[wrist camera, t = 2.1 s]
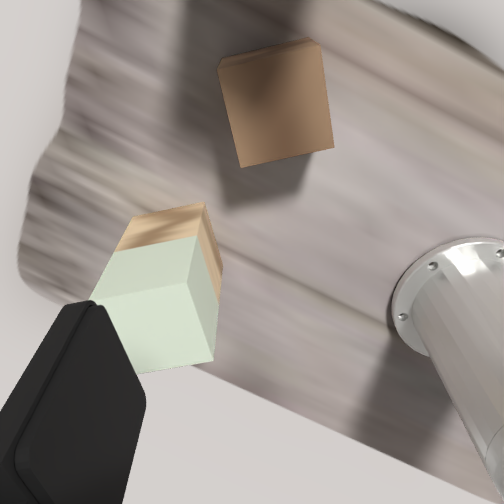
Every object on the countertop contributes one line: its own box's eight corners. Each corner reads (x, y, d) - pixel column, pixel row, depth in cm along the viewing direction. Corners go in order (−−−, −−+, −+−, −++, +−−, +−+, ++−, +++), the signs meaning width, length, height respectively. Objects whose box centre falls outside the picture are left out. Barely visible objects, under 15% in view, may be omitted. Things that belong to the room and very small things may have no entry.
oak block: (204, 201, 37) (196, 235, 32) (222, 264, 40) (218, 305, 34) (132, 216, 37) (113, 252, 32) (156, 277, 40) (142, 319, 35)
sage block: (197, 235, 32) (186, 282, 26) (218, 305, 34) (213, 360, 29) (114, 252, 32) (87, 301, 27) (142, 319, 35) (123, 376, 30)
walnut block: (308, 37, 31) (320, 44, 26) (321, 124, 34) (334, 147, 29) (222, 57, 32) (216, 69, 26) (241, 142, 35) (240, 167, 29)
